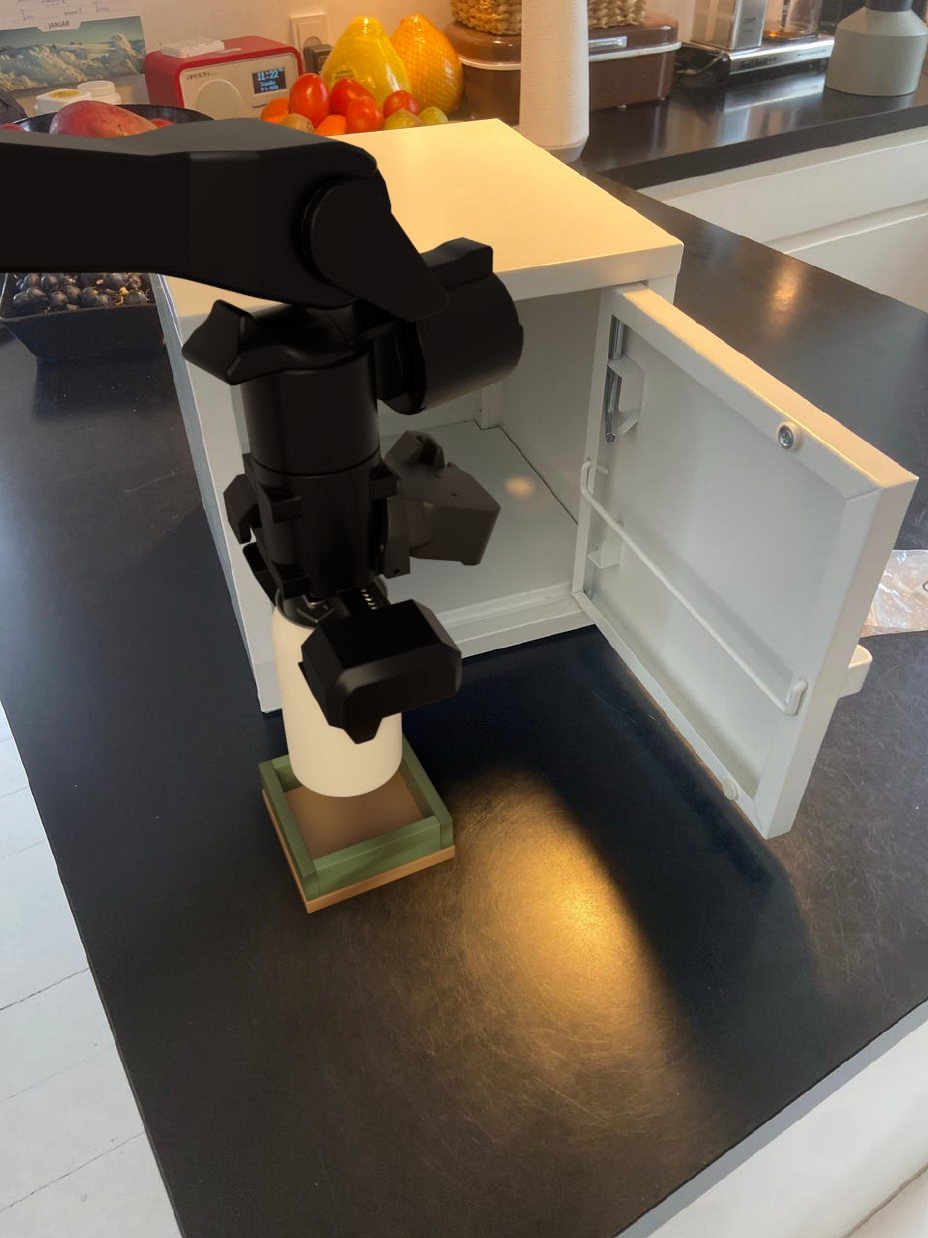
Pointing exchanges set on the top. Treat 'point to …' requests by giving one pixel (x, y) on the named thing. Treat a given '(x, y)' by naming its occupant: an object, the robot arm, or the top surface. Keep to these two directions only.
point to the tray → (356, 830)
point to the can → (313, 744)
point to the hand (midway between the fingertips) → (343, 700)
